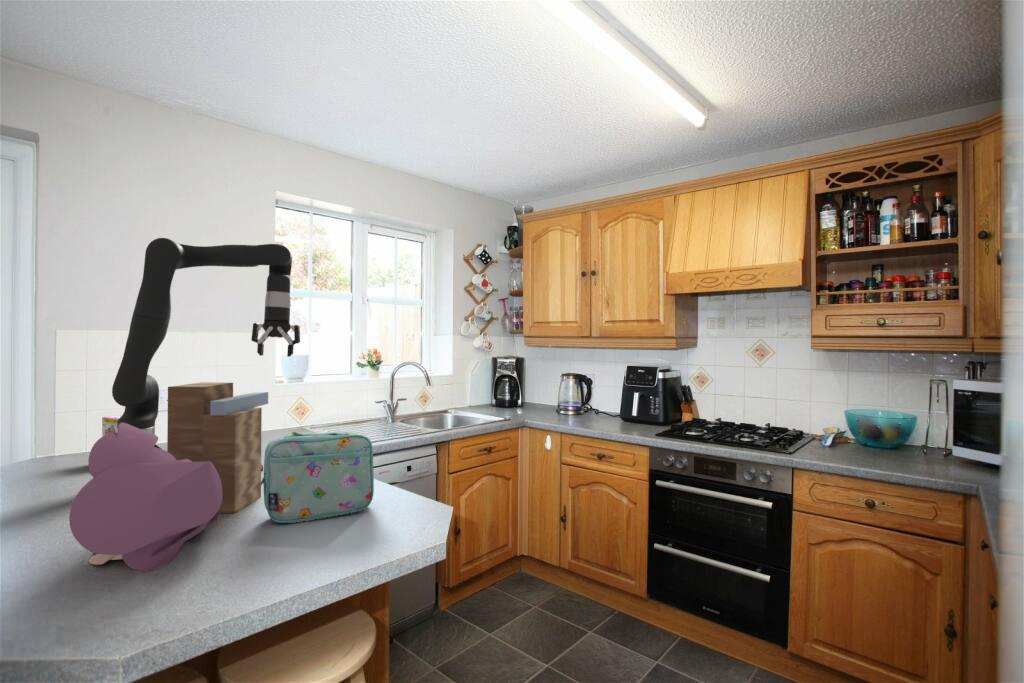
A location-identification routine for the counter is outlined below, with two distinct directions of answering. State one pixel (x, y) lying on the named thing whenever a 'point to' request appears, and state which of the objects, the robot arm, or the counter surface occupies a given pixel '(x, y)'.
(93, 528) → the mauve lumpy blob
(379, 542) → the counter surface
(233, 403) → the rail
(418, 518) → the counter surface
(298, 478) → the lunch box
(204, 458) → the stand
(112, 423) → the candy bar box
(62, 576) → the counter surface
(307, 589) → the counter surface
